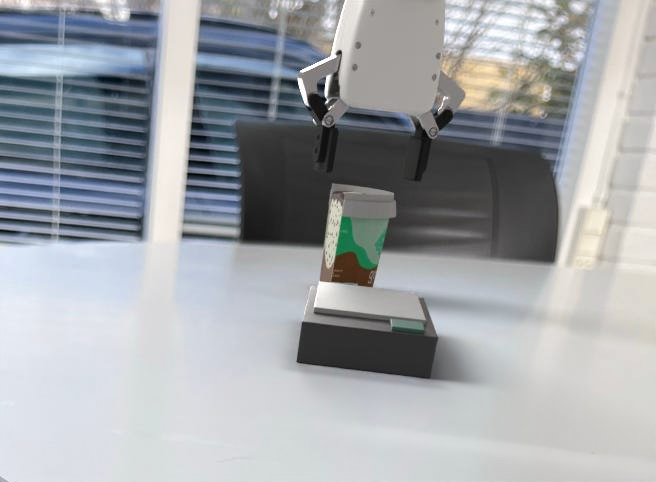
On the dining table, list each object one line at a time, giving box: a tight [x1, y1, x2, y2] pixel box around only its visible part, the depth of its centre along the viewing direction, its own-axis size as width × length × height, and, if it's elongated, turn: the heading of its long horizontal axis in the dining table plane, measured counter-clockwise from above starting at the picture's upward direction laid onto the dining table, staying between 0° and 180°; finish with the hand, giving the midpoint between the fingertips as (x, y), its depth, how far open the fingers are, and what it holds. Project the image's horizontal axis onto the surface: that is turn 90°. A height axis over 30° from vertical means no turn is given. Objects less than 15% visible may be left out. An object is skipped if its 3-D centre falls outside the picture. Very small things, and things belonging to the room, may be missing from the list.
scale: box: [296, 281, 439, 379], centre depth 86 cm, size 10×18×3 cm, turn 171°
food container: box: [318, 183, 397, 288], centre depth 109 cm, size 12×6×10 cm, turn 179°
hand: (367, 176), depth 106 cm, fingers open, 9 cm apart
